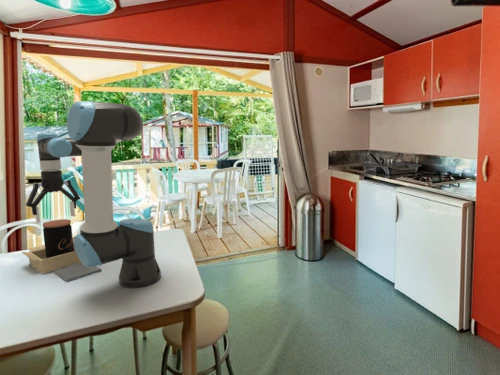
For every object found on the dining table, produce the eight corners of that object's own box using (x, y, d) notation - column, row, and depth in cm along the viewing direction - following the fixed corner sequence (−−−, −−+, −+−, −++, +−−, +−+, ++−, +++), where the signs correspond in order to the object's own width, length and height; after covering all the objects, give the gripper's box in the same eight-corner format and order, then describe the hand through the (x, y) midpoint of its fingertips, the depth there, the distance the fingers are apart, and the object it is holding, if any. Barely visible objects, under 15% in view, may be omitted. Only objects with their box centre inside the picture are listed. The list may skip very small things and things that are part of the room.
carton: (99, 259, 144) (98, 245, 143) (36, 277, 125) (35, 261, 124) (80, 249, 157) (79, 236, 156) (21, 264, 138) (19, 250, 138)
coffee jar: (62, 267, 135) (57, 226, 132) (40, 265, 137) (36, 225, 134) (80, 258, 145) (76, 219, 143) (60, 256, 147) (56, 218, 145)
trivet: (101, 271, 130) (101, 268, 130) (66, 282, 120) (66, 279, 120) (87, 263, 139) (87, 261, 138) (54, 273, 129) (54, 270, 129)
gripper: (78, 167, 147) (82, 212, 150) (13, 172, 128) (19, 223, 131) (85, 168, 142) (89, 214, 145) (18, 173, 123) (25, 226, 127)
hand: (56, 219), depth 138 cm, fingers open, 13 cm apart
